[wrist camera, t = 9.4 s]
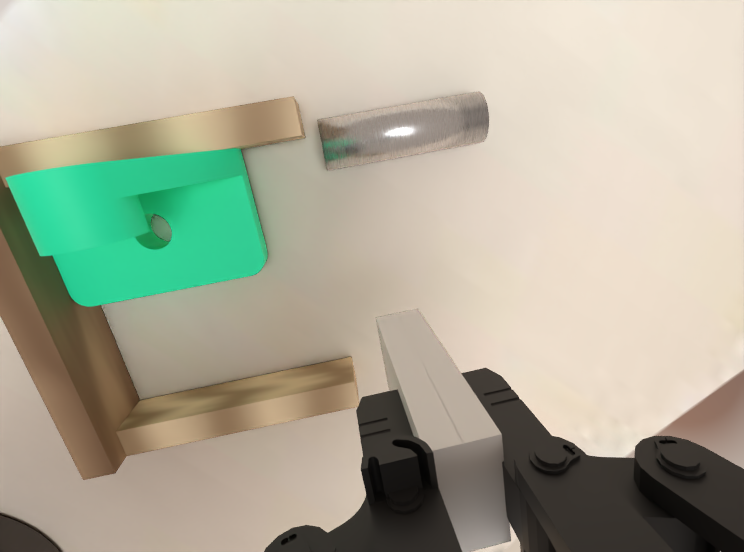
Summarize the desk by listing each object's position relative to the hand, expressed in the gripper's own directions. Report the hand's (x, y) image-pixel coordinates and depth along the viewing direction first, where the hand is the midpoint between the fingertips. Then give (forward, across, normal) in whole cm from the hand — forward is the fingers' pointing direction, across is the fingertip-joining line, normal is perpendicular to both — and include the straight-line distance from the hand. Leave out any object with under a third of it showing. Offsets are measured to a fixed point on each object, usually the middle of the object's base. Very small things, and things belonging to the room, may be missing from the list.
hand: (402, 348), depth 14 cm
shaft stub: (+12, +4, +8) cm, 15 cm away
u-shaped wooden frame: (+15, -11, 0) cm, 19 cm away
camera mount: (+15, -12, +4) cm, 20 cm away
